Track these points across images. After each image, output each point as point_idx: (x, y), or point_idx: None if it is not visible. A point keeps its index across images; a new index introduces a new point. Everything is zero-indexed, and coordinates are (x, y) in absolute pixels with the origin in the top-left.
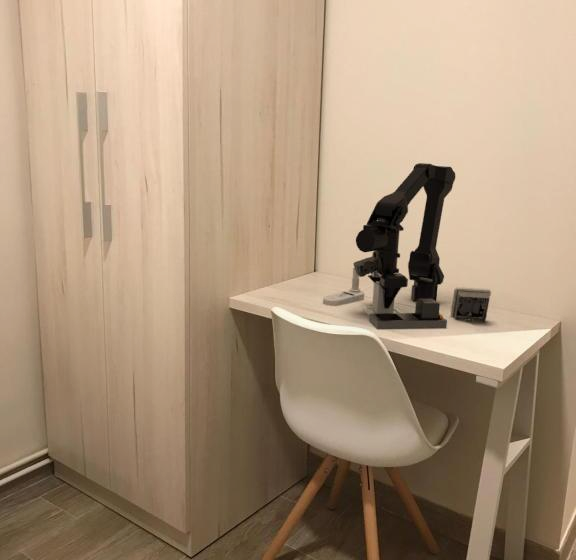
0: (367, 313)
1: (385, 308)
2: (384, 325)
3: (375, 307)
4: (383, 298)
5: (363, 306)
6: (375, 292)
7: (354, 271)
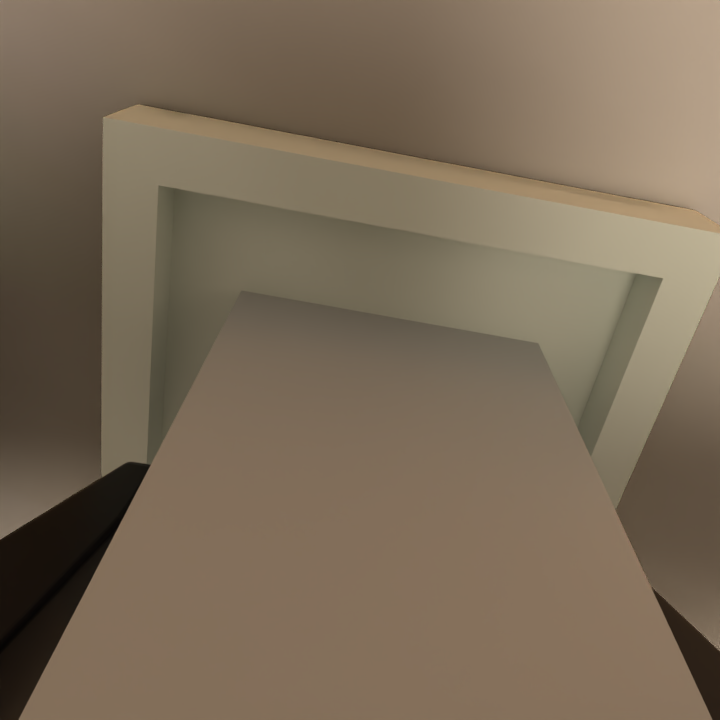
0: (350, 153)
1: (130, 469)
2: None
3: (351, 362)
4: (57, 586)
5: (707, 248)
6: (443, 617)
7: None
